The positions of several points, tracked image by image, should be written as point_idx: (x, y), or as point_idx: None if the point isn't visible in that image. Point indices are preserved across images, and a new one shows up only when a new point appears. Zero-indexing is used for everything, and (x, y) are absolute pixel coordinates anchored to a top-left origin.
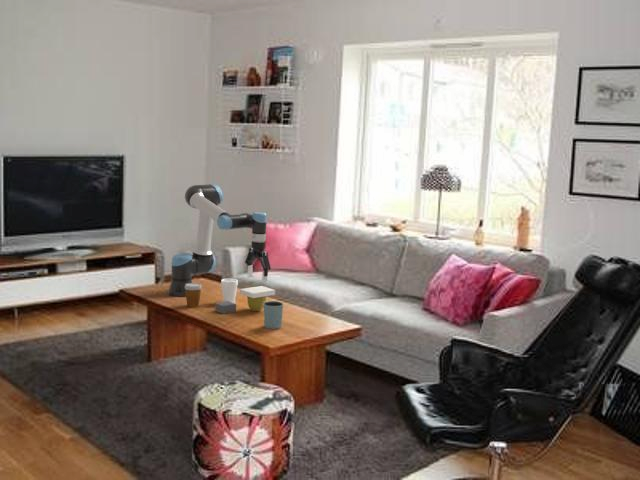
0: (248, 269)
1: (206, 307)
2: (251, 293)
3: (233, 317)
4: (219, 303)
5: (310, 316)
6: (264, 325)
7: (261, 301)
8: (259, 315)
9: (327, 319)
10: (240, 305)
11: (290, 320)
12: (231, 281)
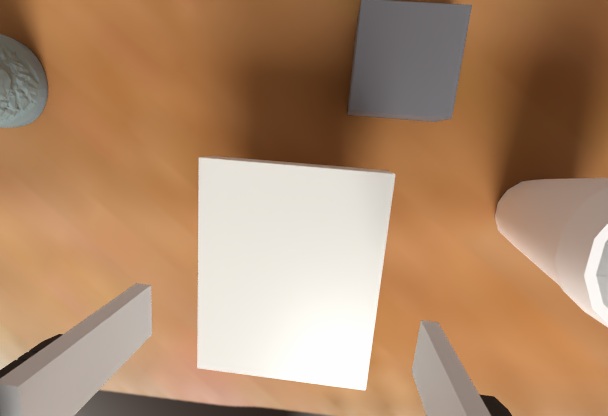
0: (461, 398)
1: (546, 20)
2: (219, 159)
3: (255, 17)
4: (442, 24)
5: None
6: (22, 45)
7: None
8: None
9: (5, 362)
10: (435, 225)
11: (61, 229)
12: None
